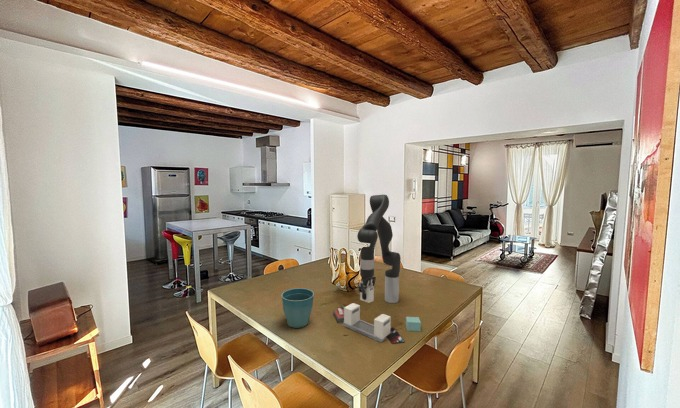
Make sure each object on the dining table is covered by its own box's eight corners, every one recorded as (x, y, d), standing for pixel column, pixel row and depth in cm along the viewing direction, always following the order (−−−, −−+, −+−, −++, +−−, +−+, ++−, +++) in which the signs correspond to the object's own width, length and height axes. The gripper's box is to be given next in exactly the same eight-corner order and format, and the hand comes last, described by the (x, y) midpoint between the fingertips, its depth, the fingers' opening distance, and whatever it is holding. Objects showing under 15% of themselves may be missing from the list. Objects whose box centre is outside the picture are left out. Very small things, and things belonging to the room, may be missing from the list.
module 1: (352, 317, 166) (352, 302, 165) (359, 320, 163) (359, 305, 162) (343, 323, 160) (344, 307, 159) (351, 326, 157) (351, 310, 156)
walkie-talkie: (352, 322, 164) (343, 306, 183) (352, 315, 163) (343, 300, 182) (338, 325, 161) (330, 308, 181) (337, 317, 161) (330, 302, 180)
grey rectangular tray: (353, 319, 167) (353, 316, 167) (391, 334, 151) (391, 331, 151) (342, 325, 160) (342, 323, 159) (381, 342, 143) (381, 339, 143)
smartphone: (393, 327, 158) (405, 342, 143) (393, 328, 158) (405, 343, 144) (381, 328, 156) (391, 343, 142) (381, 329, 157) (391, 345, 142)
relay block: (405, 325, 161) (418, 325, 160) (407, 330, 155) (420, 331, 154) (406, 316, 160) (418, 317, 160) (407, 322, 154) (420, 322, 154)
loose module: (364, 297, 157) (364, 283, 157) (373, 300, 153) (373, 286, 153) (359, 299, 154) (360, 285, 154) (369, 303, 150) (369, 288, 150)
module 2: (382, 329, 153) (382, 313, 153) (390, 333, 150) (390, 316, 149) (373, 335, 147) (374, 319, 147) (382, 339, 144) (382, 322, 143)
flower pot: (299, 312, 176) (298, 285, 174) (320, 321, 164) (320, 293, 163) (275, 323, 162) (274, 294, 160) (297, 335, 150) (296, 303, 149)
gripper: (369, 262, 160) (368, 292, 162) (353, 268, 149) (353, 300, 151) (380, 265, 155) (379, 295, 157) (365, 271, 144) (364, 304, 146)
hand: (366, 297), depth 154 cm, fingers closed on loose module, 4 cm apart
